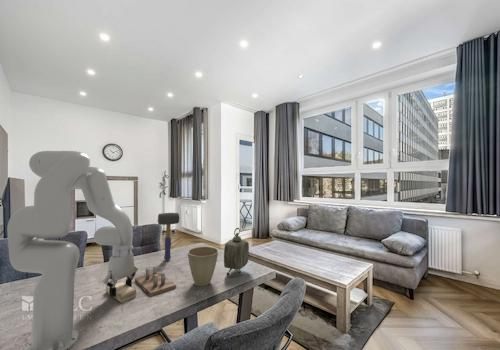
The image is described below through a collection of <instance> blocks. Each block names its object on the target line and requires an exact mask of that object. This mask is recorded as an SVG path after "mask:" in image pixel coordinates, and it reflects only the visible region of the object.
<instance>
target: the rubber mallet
mask: <svg viewBox="0 0 500 350" xmlns="http://www.w3.org/2000/svg"><path fill="white" fill-rule="evenodd" d="M179 222H180V214H179V212H163V213H158V214H157V223H158V225H162V226H163V225H164V226H166V228H165V229H166V230H165V231H166V232H165V238H164V255H163V256H164V257H163V259H164V261H166V262H168V261H170V260H171V257H172V255H171V246H172V238H171V225H175V224H176V225H177V224H179Z"/></svg>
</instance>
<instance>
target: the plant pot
mask: <svg viewBox="0 0 500 350" xmlns="http://www.w3.org/2000/svg"><path fill="white" fill-rule="evenodd" d="M218 254H219V249H218V248H216V247H212V246H198V247H193V248H190V249H189V250H188V251H187V257H188V265H189V269H190V273H191V277H192V279H193V280H192V281H193V283H194V285H196V286H198V287H205V286H208V285H209V284H210V283H211V281H212V278H213V275H214V272H215V268H216V265H217V260H218Z"/></svg>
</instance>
